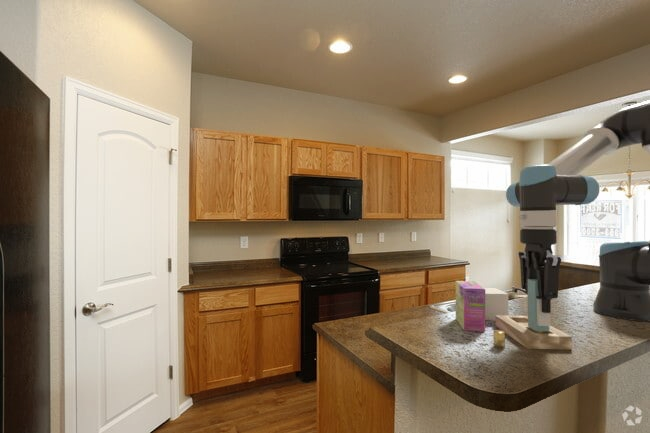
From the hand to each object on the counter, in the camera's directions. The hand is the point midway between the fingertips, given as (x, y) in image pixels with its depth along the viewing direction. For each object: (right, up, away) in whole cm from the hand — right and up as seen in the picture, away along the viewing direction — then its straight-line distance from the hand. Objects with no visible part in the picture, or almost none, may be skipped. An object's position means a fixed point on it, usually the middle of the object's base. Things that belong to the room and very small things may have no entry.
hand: (538, 322), depth 78 cm
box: (-11, -5, +13) cm, 18 cm away
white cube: (-1, -5, +21) cm, 22 cm away
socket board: (0, -5, +4) cm, 6 cm away
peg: (0, -2, 0) cm, 2 cm away
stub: (-11, -5, -2) cm, 12 cm away
